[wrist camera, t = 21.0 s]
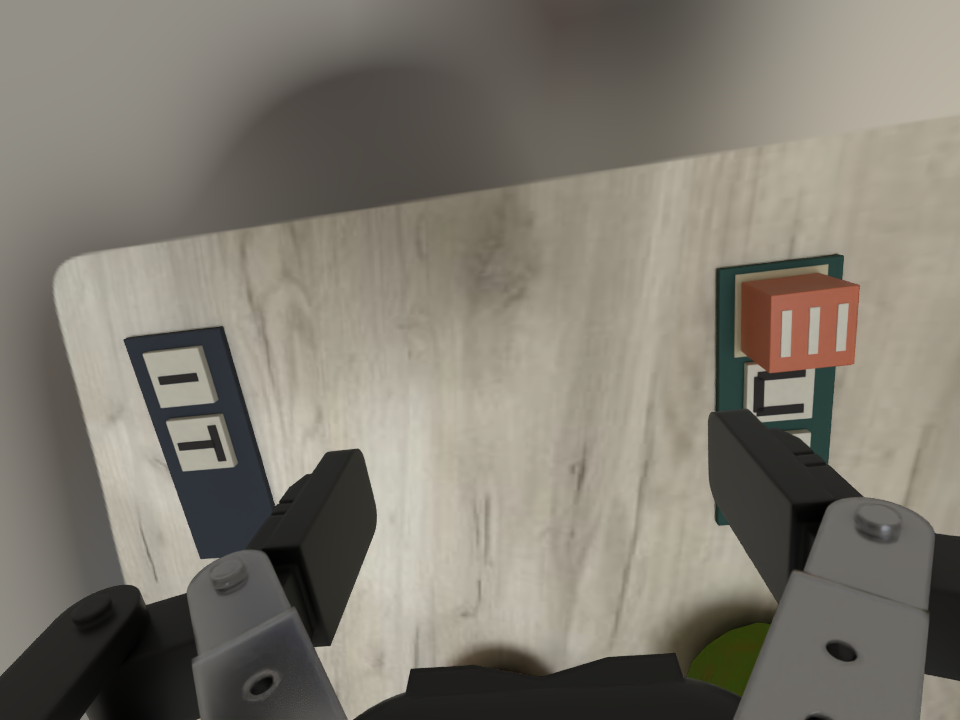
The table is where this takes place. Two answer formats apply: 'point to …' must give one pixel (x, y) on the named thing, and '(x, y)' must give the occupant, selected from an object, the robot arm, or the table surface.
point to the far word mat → (204, 435)
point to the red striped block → (799, 322)
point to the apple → (730, 658)
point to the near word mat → (745, 385)
